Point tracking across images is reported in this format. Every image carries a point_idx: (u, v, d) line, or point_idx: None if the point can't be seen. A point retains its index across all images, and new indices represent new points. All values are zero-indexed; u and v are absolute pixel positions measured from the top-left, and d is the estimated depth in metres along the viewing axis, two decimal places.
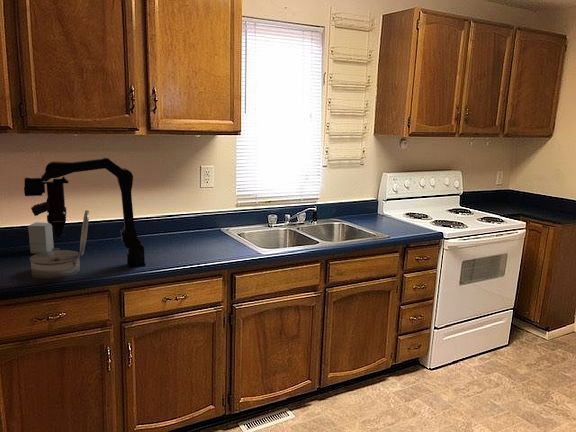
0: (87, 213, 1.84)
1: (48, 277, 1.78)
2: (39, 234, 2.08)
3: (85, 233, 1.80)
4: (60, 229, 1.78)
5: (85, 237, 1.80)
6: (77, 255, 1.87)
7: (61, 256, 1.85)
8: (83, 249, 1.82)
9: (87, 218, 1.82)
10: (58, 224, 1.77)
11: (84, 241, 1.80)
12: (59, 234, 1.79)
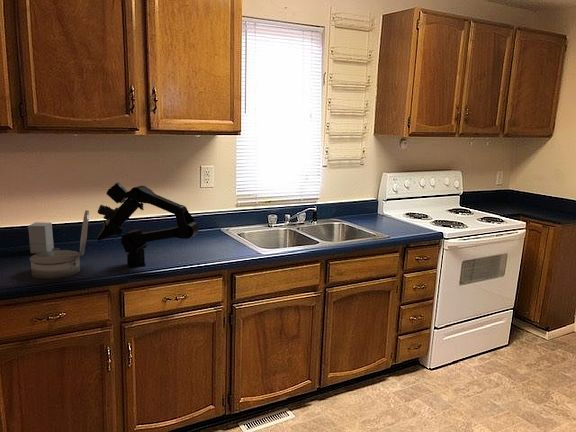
0: (87, 213, 1.84)
1: (48, 277, 1.78)
2: (39, 234, 2.08)
3: (85, 233, 1.80)
4: (105, 235, 1.90)
5: (85, 237, 1.80)
6: (77, 255, 1.87)
7: (61, 256, 1.85)
8: (83, 249, 1.82)
9: (87, 218, 1.82)
10: (109, 231, 1.90)
11: (84, 241, 1.80)
12: (101, 238, 1.90)
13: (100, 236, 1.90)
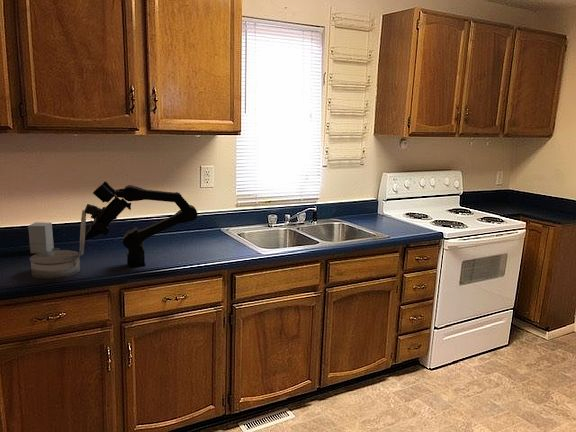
0: (84, 213, 1.84)
1: (48, 277, 1.78)
2: (39, 234, 2.08)
3: (83, 233, 1.79)
4: (92, 235, 1.88)
5: (83, 237, 1.80)
6: (77, 255, 1.87)
7: (61, 256, 1.85)
8: (82, 249, 1.82)
9: (84, 218, 1.82)
10: (95, 230, 1.88)
11: (83, 241, 1.80)
12: (88, 237, 1.88)
13: (87, 236, 1.88)
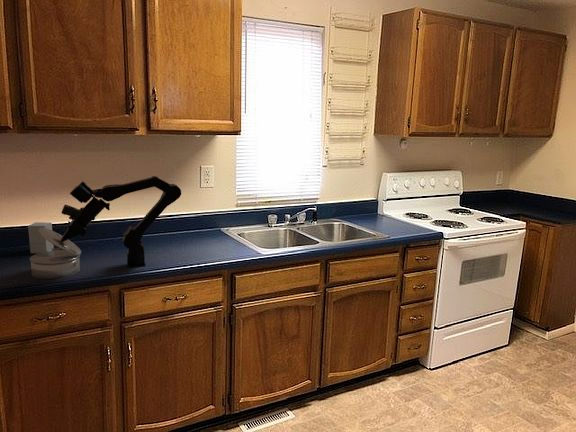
0: (39, 231, 1.78)
1: (48, 277, 1.78)
2: (39, 234, 2.08)
3: (56, 244, 1.76)
4: (70, 236, 1.85)
5: (60, 246, 1.77)
6: (77, 255, 1.87)
7: (61, 256, 1.85)
8: (72, 252, 1.80)
9: (43, 235, 1.77)
10: (73, 231, 1.85)
11: (63, 249, 1.78)
12: (65, 239, 1.85)
13: (64, 237, 1.84)
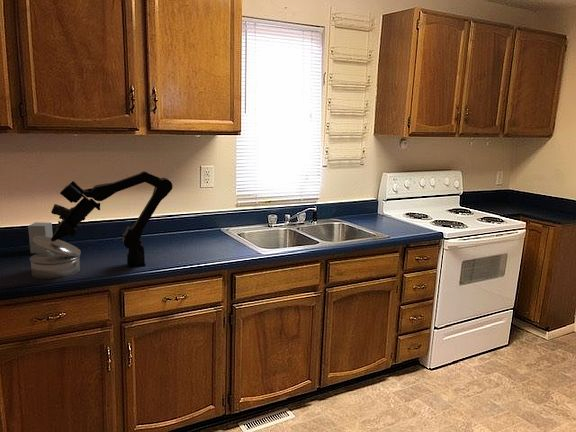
0: (34, 240, 1.78)
1: (48, 277, 1.78)
2: (39, 234, 2.08)
3: (52, 250, 1.76)
4: (60, 236, 1.83)
5: (56, 251, 1.77)
6: None
7: (61, 256, 1.85)
8: (70, 254, 1.80)
9: (38, 243, 1.76)
10: (63, 231, 1.83)
11: (61, 253, 1.77)
12: (55, 239, 1.83)
13: (54, 237, 1.83)
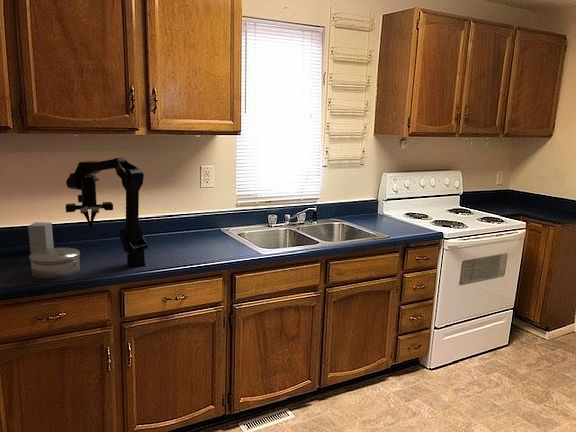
0: (30, 258, 1.79)
1: (48, 277, 1.78)
2: (39, 234, 2.08)
3: (50, 261, 1.76)
4: None
5: (54, 260, 1.77)
6: None
7: None
8: (69, 258, 1.80)
9: (34, 260, 1.77)
10: None
11: (59, 260, 1.78)
12: (88, 223, 2.05)
13: (88, 222, 2.06)
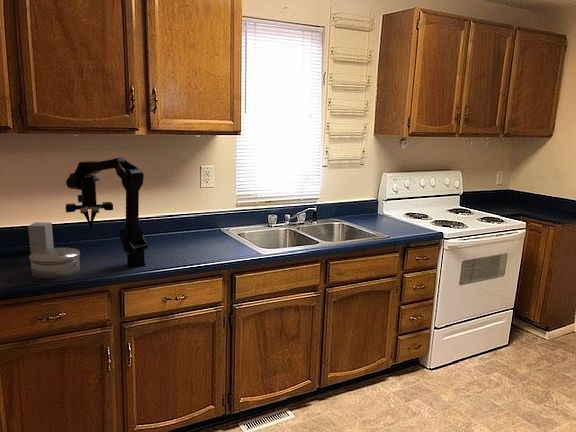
0: (30, 258, 1.79)
1: (48, 277, 1.78)
2: (39, 234, 2.08)
3: (50, 261, 1.76)
4: None
5: (54, 260, 1.77)
6: None
7: None
8: (69, 258, 1.80)
9: (34, 260, 1.77)
10: None
11: (59, 260, 1.78)
12: (88, 223, 2.05)
13: (88, 222, 2.06)
